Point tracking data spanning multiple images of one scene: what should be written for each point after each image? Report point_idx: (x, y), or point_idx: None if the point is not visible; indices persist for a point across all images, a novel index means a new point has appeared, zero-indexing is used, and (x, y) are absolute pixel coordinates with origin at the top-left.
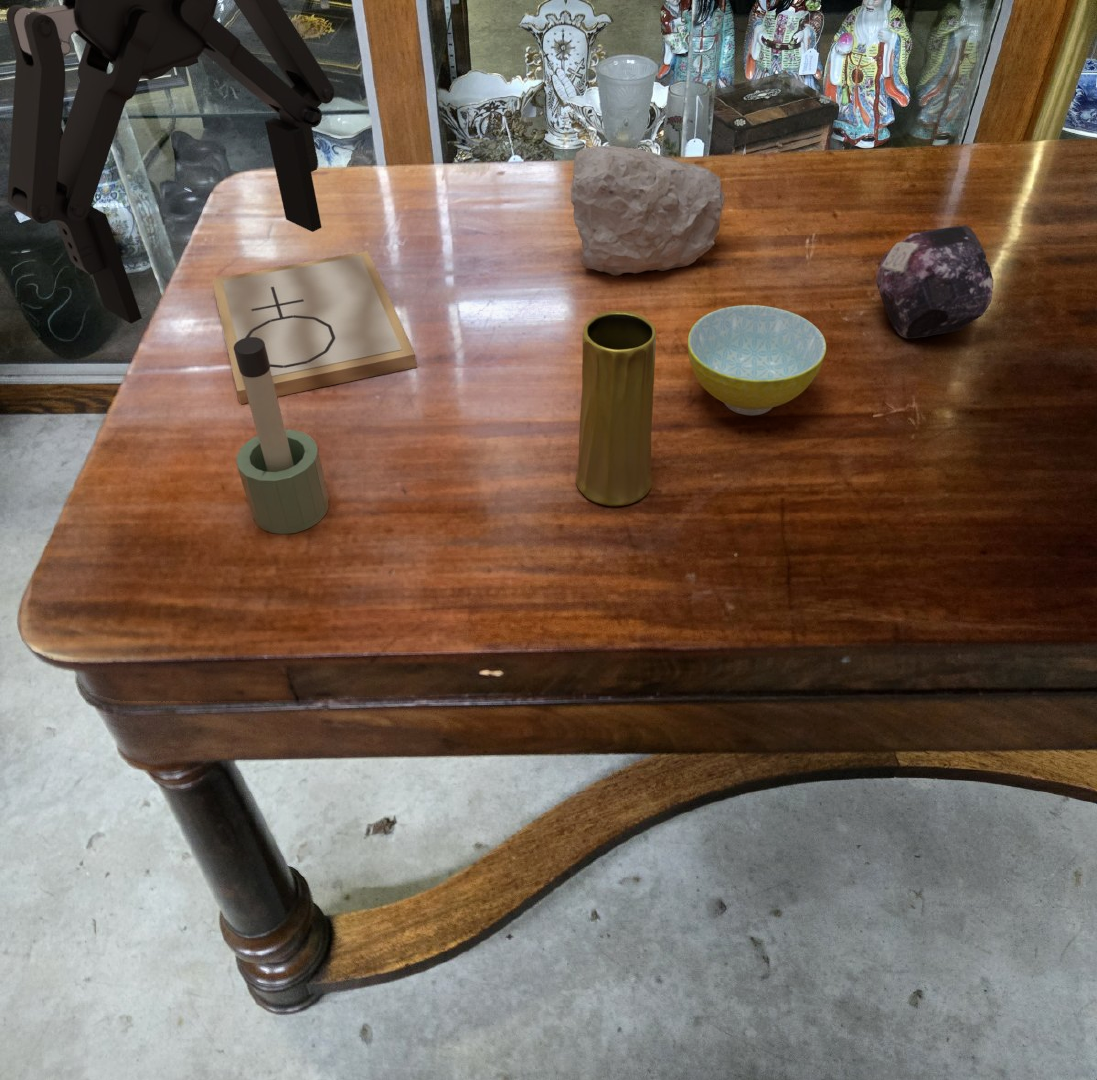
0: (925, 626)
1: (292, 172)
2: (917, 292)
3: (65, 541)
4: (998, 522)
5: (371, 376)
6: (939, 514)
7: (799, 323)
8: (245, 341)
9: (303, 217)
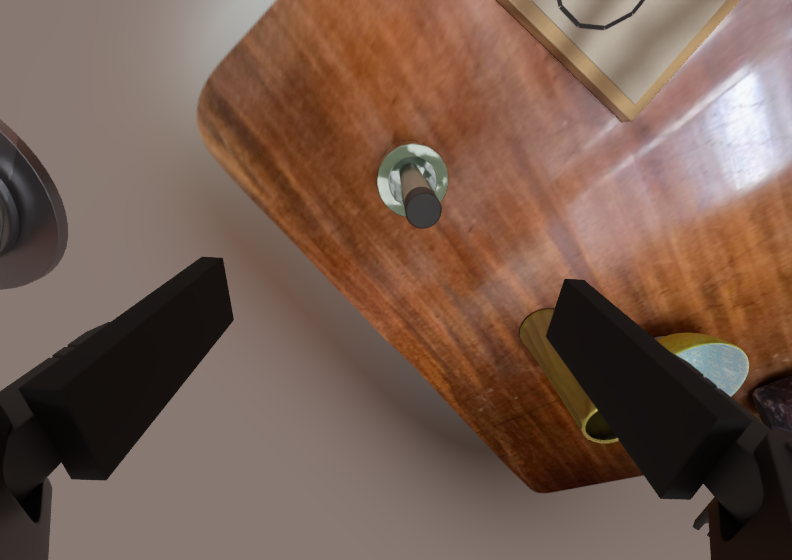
0: (511, 461)
1: (605, 387)
2: (787, 425)
3: (259, 31)
4: (590, 462)
5: (592, 92)
6: (586, 446)
7: (729, 388)
8: (426, 202)
9: (558, 334)
